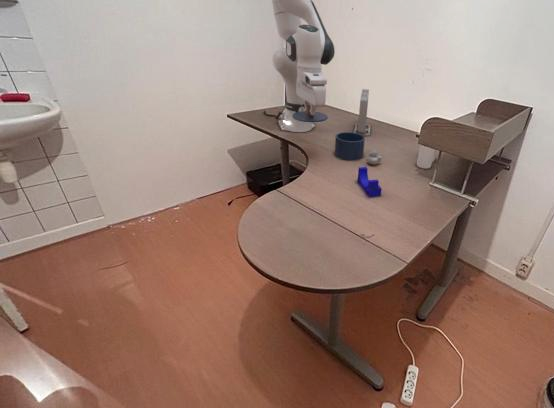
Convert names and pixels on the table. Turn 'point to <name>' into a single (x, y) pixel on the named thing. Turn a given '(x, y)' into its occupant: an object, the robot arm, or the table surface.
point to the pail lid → (309, 116)
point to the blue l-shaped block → (368, 183)
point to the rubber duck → (373, 157)
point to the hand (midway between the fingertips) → (310, 113)
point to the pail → (349, 146)
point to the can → (425, 157)
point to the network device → (363, 114)
